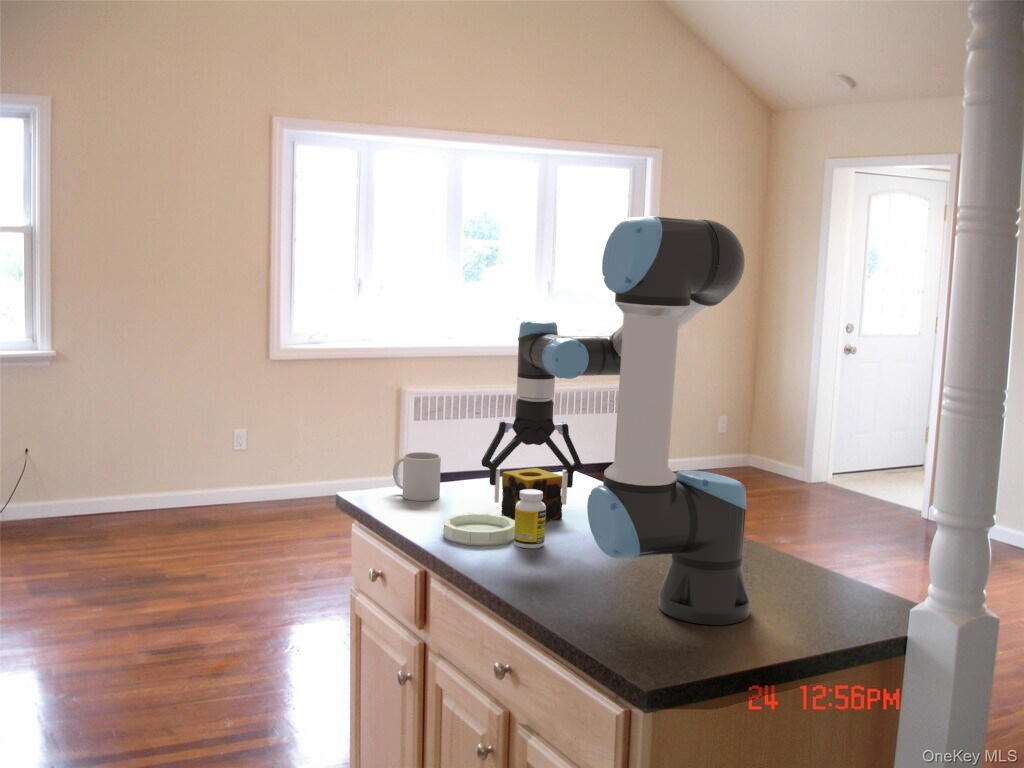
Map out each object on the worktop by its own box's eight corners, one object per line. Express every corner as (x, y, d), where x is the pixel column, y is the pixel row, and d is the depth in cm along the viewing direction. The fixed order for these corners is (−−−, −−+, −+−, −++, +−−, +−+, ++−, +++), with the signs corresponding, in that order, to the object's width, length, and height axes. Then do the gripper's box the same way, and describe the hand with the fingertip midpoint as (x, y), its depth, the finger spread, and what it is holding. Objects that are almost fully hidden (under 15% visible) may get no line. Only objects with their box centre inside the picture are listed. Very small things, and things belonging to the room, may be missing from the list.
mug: (445, 499, 239) (446, 458, 237) (408, 502, 234) (409, 460, 233) (427, 489, 248) (428, 449, 247) (391, 492, 244) (392, 451, 242)
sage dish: (517, 546, 202) (517, 533, 202) (442, 545, 201) (442, 531, 201) (513, 526, 217) (513, 513, 217) (443, 524, 216) (444, 512, 216)
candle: (562, 519, 224) (564, 476, 223) (525, 525, 219) (527, 480, 217) (536, 509, 233) (538, 467, 231) (500, 514, 227) (501, 471, 226)
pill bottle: (541, 550, 200) (543, 496, 199) (511, 547, 201) (513, 493, 200) (546, 542, 206) (549, 489, 205) (517, 539, 207) (519, 487, 206)
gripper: (594, 397, 204) (589, 498, 207) (472, 393, 203) (468, 495, 206) (599, 403, 197) (593, 508, 200) (472, 399, 196) (468, 505, 199)
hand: (530, 502), depth 203 cm, fingers open, 13 cm apart
